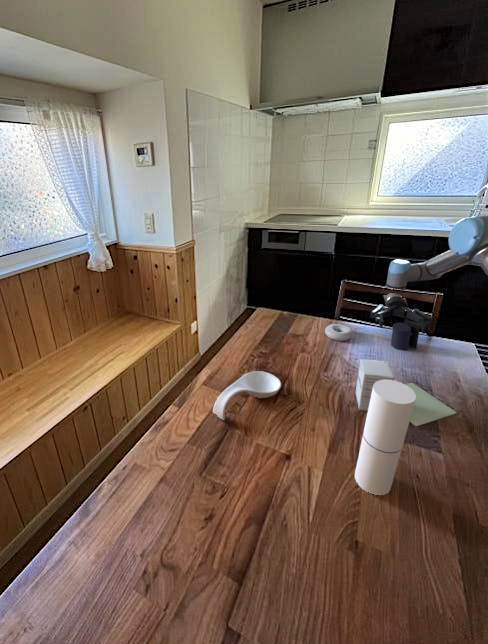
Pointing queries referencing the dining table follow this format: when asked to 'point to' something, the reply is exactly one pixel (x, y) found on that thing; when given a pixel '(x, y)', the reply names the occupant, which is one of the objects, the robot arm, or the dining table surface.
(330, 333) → the donut
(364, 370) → the white packaging box
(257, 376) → the spoon rest
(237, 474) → the dining table surface
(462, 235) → the robot arm
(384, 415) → the cylindrical container
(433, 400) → the felt mat
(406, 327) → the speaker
